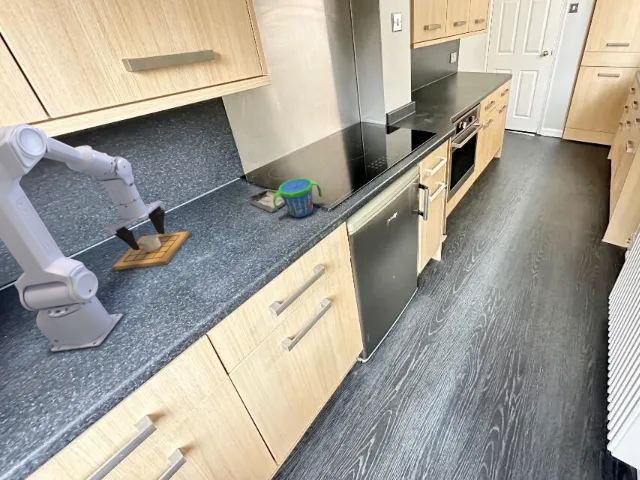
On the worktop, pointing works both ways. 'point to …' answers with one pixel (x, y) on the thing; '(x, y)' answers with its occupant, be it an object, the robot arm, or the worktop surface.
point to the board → (153, 252)
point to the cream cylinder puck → (150, 243)
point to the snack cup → (297, 196)
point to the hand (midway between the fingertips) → (149, 240)
